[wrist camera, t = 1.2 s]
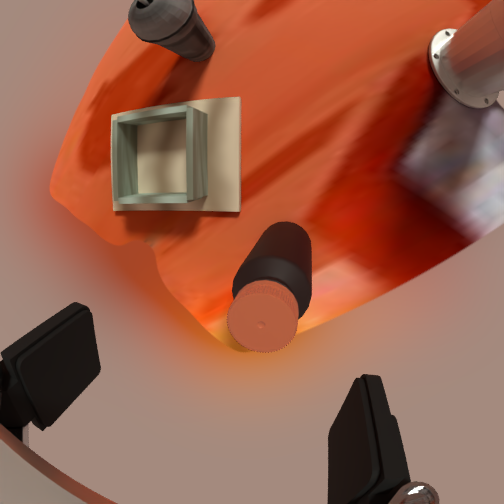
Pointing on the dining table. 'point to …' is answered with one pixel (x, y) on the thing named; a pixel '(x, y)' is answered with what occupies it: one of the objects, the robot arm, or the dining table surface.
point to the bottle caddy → (178, 157)
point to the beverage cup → (172, 27)
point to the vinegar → (272, 289)
